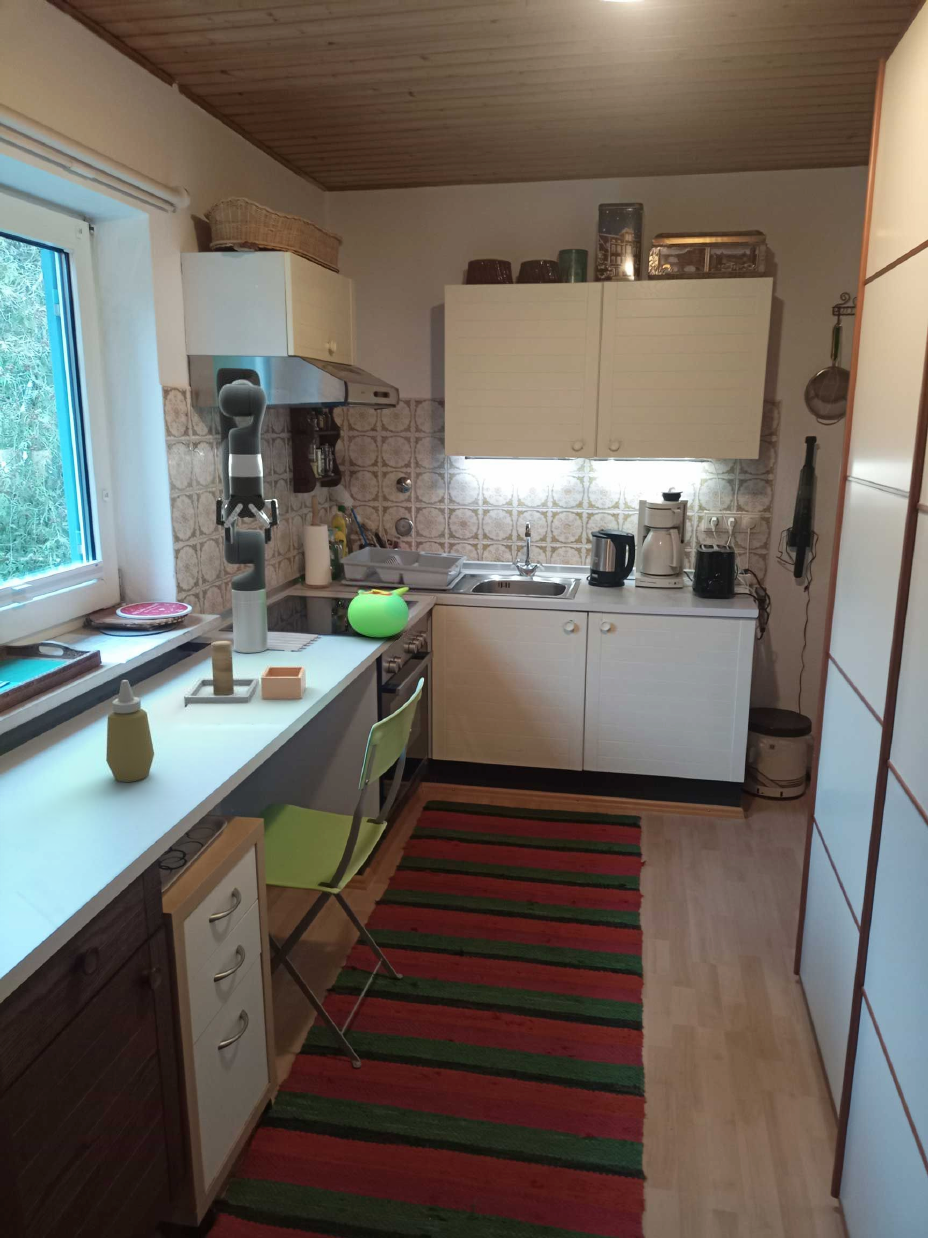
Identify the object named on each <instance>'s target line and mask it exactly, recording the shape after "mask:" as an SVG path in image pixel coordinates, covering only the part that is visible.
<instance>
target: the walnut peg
mask: <svg viewBox="0 0 928 1238" xmlns="http://www.w3.org/2000/svg"><path fill="white" fill-rule="evenodd" d="M232 646H233V645H232V641H229V640H218V641H214V642H211V644H210V647H211V669H212V670H211V671H212V678H213V685H212V687H213V688H212V689H213V696H232V695H233V694H234V693H235V692H234V691H235V690H234V686H235V685H233V678H234V668H233V667H234V666H233V650H232V649H233V647H232Z"/></svg>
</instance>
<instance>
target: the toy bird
mask: <svg viewBox="0 0 928 1238" xmlns="http://www.w3.org/2000/svg"><path fill="white" fill-rule="evenodd" d="M409 589H410V588H409V587H400V588H397V589H394V590H379V589H371V590H367V591H365V590H363V589H359V590H358V591H357V593H358V595H357V596H355V597H354V598H353V599H352V600H351V602H350V603H349V606H348V608H347V609H348V610H347V618H348V622H349V624H350V626H351V627H352V628H353V629H354V631H356V632H357V633H359V634H361V635H364V636H366V637H370V638H387V637H391V636H395V635H396V634H398V633H400V632H402V630H403V629H404V628H406V625H407V624H408V621H409V617H410V615H409V614H410V612H409V607H408V605H407V602H405V599H403V598H402V597H401V596H402V595H404V594H406V592H408V590H409Z"/></svg>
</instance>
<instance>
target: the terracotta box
mask: <svg viewBox="0 0 928 1238" xmlns="http://www.w3.org/2000/svg"><path fill="white" fill-rule="evenodd" d="M306 679H307V678H306V666H266V668H265V669H264V671H263V674H262V675H261V677H260V686H261V687H260V688H261V689H260V690H261V700H302V698H303V696H304V693H305V690H306V688H307V687H306V686H307V684H306V683H307V682H306Z"/></svg>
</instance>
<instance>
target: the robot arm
mask: <svg viewBox="0 0 928 1238" xmlns="http://www.w3.org/2000/svg"><path fill="white" fill-rule="evenodd" d="M215 378H216V381H215V382H216V385H215V386H216V397H217V404H218V405H217V406H218V417H219V426H220V456H221V457H220V466H221V467H220V468H221V482H222V494H223V498H218V499H217V500H215V501H216V502H215V504H216V505H215V507H216V508H215V509H216V510H215V517H216V518H215V523H216V525H218V526H221V527H223V554H224V559H225V562H226V563H227V564H230V565H253V567H252V568H251V569H249V570H248V571H247V572H244V573H242V574H240V575H237V576H234V577H232V578H231V580H230V588H231V590H230V591H231V606H232V608H231V609H232V633H233V635H232V636H233V637H232V638H233V650H234V651H235V652H239V653H245V654H246V653H247V654H248V653H249V654H251V653H261V652H265V651H267V650H268V648H269V640H268V638H269V637H268V636H269V635H268V634H269V632H268V610H267V606H268V605H267V604H268V603H267V586H266V585H267V584H266V583H267V582H266V545H268V544H270V542H271V541H272V538H273V535H272V534H273V533H272V528H273V527H275V526H277V525H279V524H280V515H279V507H278V506H279V505H278V500H277V499H276V498H274V499H269V500H268V499H267V500H266V499H265V498H264V481H263V480H264V477H263V476H264V475H263V461H262V453H261V452H262V450H261V433H262V425H263V420H264V417H265V412H266V407H267V404H268V398H267V397H268V396H267V393H266V391H265V390H264V389H263V388H262V386H261V378H260V376H259V373H258V372H257V371H256V370H255V369H251V368H240V367H238V368H237V367H235V368H234V367H221V368H219V369H218V370H217V372H216V377H215ZM249 417H250V418H251V420H250V422H249V423H248V424H246V425H245V426H238V423H237V422H236V420H235V418H249ZM265 506H267V507H268V509H269V510H271V520H269V518H268V517H267V515H266V514H265V513H264V511H263V509H264V507H265ZM238 518H240V519H245V518H248V519H255V518H257V519H258V520H259V522H261V524H263V526H264V530H263V531H264V532H263V531H262V530H260V529H240V530H239V529H236V528H237V527H236V525H237V522H238Z"/></svg>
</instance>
